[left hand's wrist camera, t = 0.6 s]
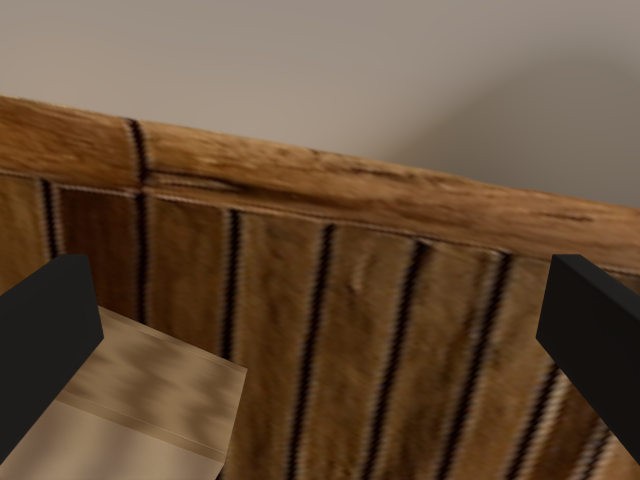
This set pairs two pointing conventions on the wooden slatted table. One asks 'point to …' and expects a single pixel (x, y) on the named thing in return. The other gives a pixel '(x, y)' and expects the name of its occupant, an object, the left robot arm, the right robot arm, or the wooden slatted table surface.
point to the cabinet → (135, 413)
